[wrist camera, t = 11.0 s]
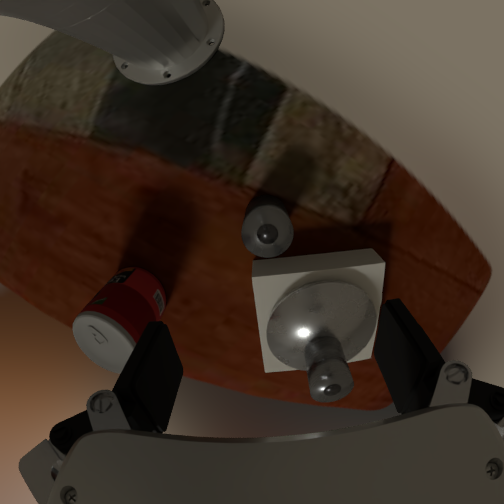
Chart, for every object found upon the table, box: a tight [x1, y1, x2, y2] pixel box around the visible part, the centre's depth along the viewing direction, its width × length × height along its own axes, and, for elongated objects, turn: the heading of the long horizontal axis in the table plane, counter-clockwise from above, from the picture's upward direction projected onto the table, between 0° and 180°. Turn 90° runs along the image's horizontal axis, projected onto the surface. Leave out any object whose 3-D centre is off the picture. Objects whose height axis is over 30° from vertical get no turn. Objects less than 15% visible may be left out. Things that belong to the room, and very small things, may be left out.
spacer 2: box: [304, 336, 354, 402], centre depth 26 cm, size 4×4×6 cm
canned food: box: [73, 267, 166, 373], centre depth 28 cm, size 8×8×11 cm
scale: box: [252, 248, 385, 372], centre depth 31 cm, size 14×14×4 cm
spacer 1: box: [242, 195, 293, 258], centre depth 26 cm, size 4×4×6 cm
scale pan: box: [266, 279, 377, 371], centre depth 28 cm, size 12×12×1 cm
